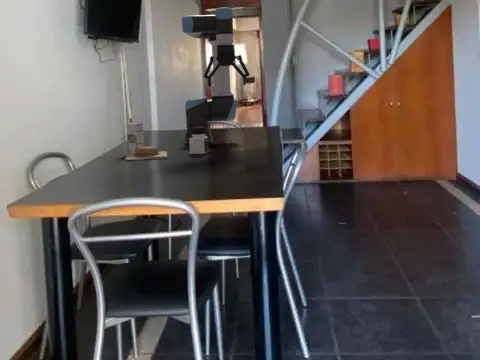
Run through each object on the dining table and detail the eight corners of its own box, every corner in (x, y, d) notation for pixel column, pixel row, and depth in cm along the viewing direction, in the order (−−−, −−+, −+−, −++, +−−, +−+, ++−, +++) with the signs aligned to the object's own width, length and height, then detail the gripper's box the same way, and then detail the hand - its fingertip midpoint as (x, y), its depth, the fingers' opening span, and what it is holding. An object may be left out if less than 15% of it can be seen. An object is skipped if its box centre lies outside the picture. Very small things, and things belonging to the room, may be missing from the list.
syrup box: (145, 152, 291) (143, 122, 288) (137, 154, 286) (135, 123, 283) (135, 152, 294) (133, 122, 291) (128, 154, 289) (125, 123, 286)
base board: (127, 155, 285) (127, 146, 284) (166, 153, 287) (166, 144, 286) (125, 161, 267) (124, 151, 266) (167, 158, 269) (166, 149, 268)
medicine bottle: (205, 153, 279) (203, 127, 277) (190, 154, 281) (188, 127, 279) (209, 151, 286) (207, 125, 284) (194, 151, 288) (192, 126, 286)
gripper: (197, 45, 263) (200, 95, 267) (254, 43, 267) (256, 92, 271) (196, 45, 271) (198, 94, 275) (251, 43, 274) (253, 91, 278)
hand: (227, 93), depth 273 cm, fingers open, 13 cm apart
